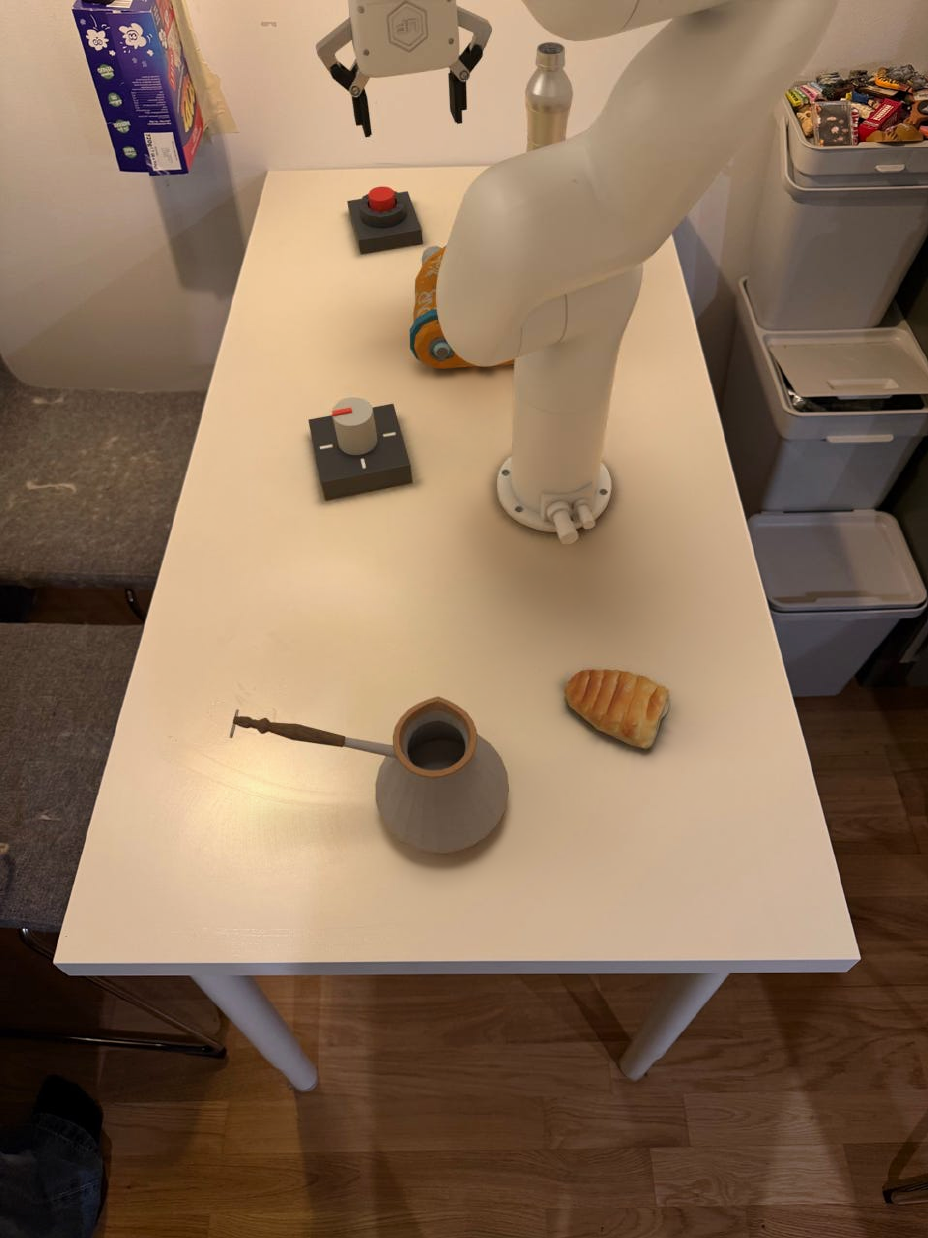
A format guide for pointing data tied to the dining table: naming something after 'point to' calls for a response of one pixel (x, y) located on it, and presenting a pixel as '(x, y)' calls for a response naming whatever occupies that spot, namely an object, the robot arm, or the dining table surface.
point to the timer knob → (355, 425)
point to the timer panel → (361, 457)
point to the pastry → (619, 704)
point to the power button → (381, 199)
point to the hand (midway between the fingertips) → (411, 123)
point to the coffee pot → (425, 774)
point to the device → (431, 318)
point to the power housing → (385, 224)
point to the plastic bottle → (548, 98)
